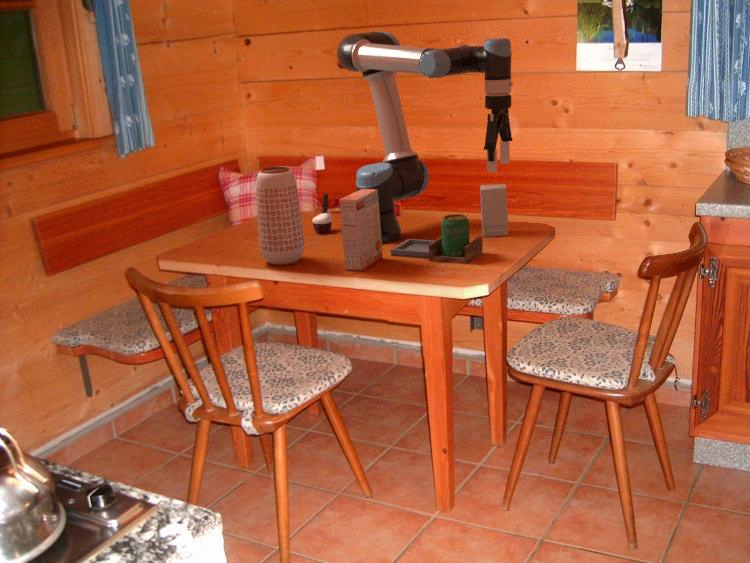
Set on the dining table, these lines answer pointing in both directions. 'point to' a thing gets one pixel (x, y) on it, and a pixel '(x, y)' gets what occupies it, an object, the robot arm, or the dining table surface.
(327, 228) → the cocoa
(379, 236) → the cracker box
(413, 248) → the tray
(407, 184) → the robot arm
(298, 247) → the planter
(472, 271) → the dining table surface
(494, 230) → the skincare box
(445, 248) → the beverage can
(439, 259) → the caddy
